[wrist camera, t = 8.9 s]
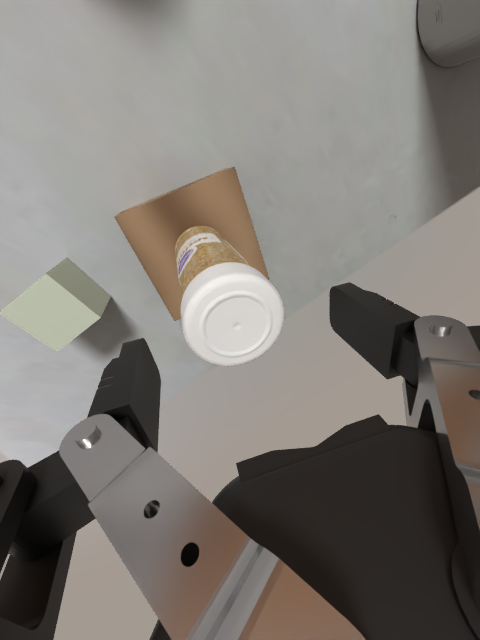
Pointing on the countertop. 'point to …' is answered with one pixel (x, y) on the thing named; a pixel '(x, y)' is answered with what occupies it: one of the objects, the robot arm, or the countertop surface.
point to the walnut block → (181, 214)
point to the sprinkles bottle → (224, 300)
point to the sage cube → (58, 305)
